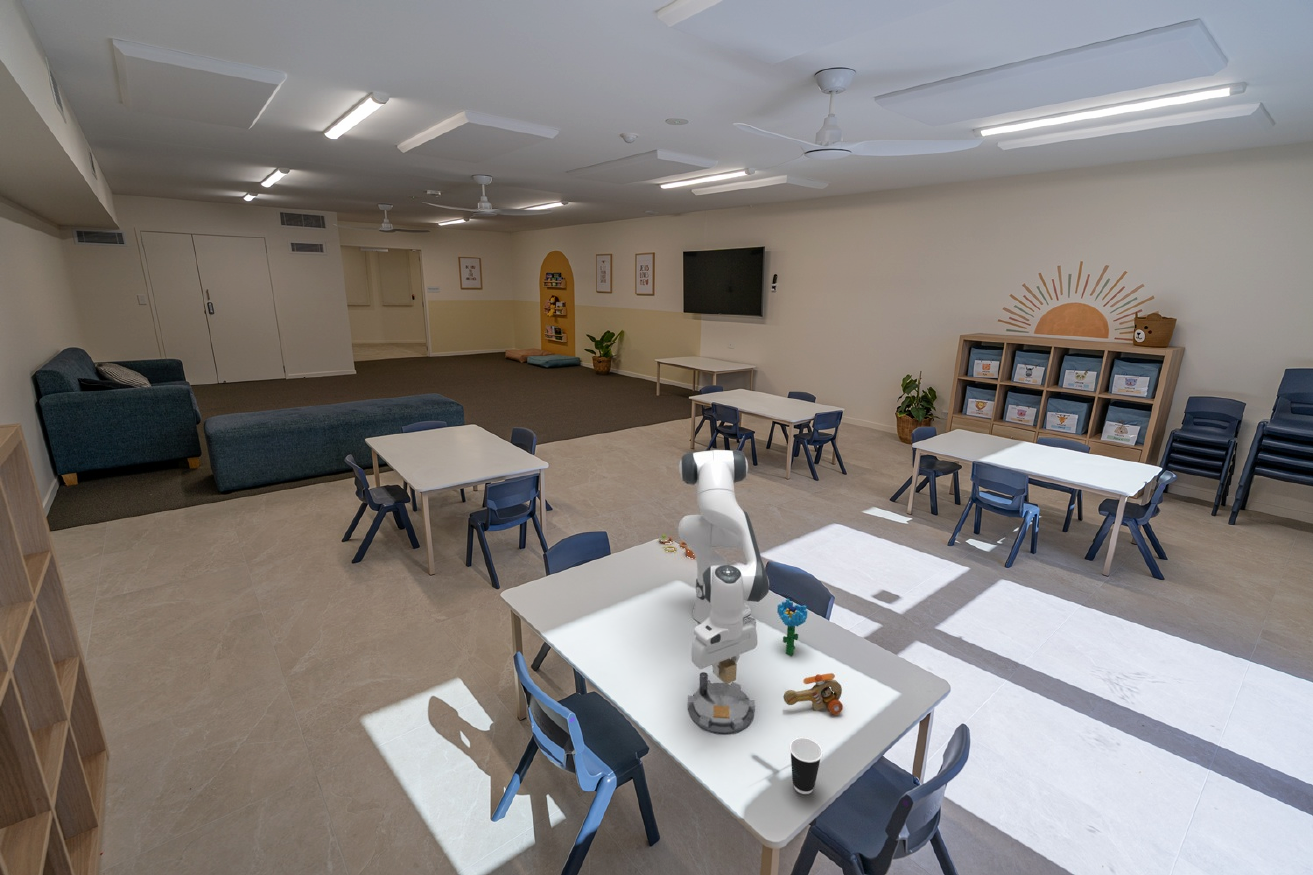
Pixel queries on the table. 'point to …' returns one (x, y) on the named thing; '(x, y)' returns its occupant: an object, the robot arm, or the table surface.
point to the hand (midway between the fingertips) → (724, 670)
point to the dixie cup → (805, 763)
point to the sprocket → (720, 703)
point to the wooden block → (727, 671)
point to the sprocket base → (721, 729)
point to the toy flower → (791, 621)
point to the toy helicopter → (818, 693)
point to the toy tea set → (682, 544)
